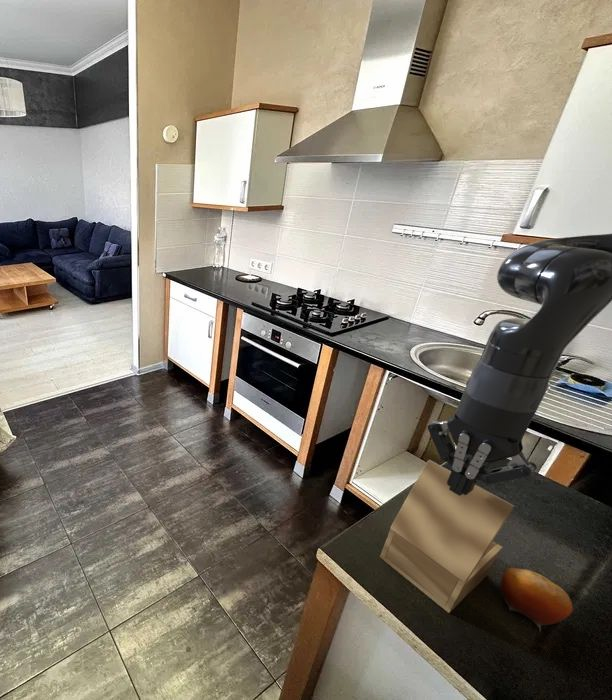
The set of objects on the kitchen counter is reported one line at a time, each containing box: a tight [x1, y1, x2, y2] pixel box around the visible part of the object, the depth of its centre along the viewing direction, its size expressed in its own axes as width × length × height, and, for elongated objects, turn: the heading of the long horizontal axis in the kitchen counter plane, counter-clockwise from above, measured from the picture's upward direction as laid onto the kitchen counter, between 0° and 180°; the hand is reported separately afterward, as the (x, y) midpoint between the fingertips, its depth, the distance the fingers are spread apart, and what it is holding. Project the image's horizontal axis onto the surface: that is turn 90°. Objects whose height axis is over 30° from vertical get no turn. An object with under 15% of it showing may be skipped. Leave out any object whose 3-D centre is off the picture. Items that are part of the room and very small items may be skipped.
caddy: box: [379, 528, 504, 614], centre depth 68 cm, size 14×12×7 cm
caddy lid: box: [390, 459, 516, 583], centre depth 61 cm, size 14×12×1 cm
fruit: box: [500, 567, 574, 633], centre depth 61 cm, size 8×8×8 cm
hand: (456, 491), depth 58 cm, fingers closed
